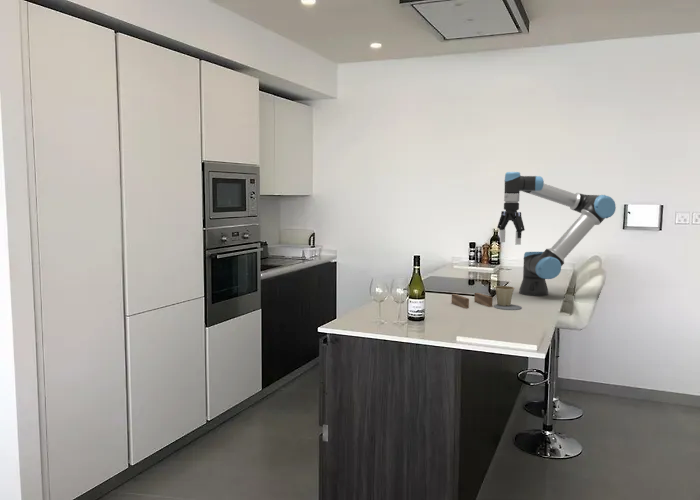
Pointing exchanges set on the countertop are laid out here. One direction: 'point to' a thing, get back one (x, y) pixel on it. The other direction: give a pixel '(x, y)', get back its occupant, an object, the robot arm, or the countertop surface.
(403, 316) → the countertop surface
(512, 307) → the disc
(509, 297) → the flower pot
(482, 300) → the slot holder
